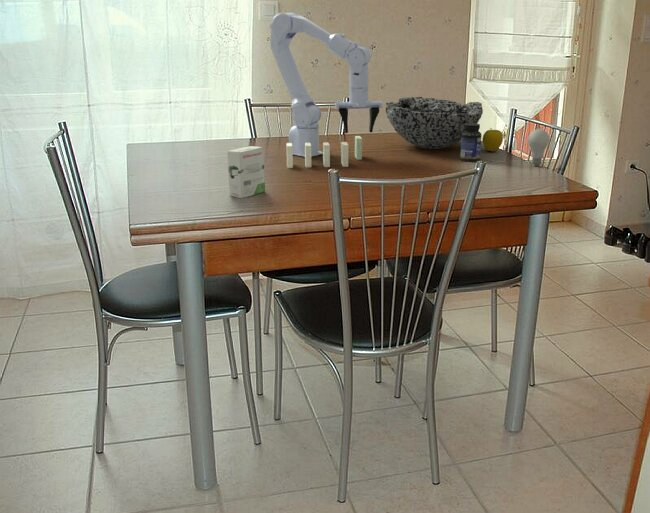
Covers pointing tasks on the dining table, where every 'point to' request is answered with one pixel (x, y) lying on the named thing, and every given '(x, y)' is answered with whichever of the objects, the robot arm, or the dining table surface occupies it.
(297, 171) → the dining table surface
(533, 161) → the lightbulb
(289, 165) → the tile
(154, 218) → the dining table surface
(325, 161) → the tile
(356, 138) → the tile
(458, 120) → the bowl
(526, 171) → the dining table surface
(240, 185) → the ink box
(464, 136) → the pill bottle
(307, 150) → the tile
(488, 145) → the apple
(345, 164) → the tile
